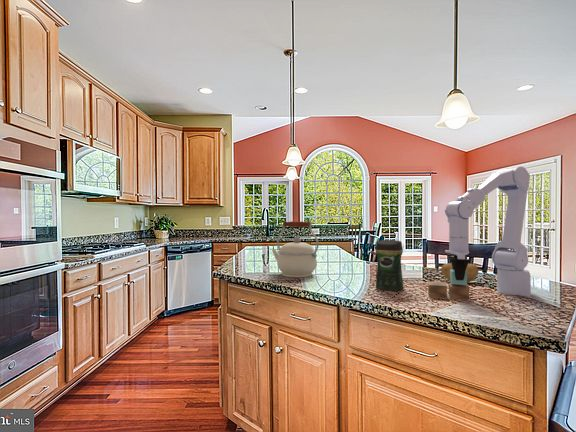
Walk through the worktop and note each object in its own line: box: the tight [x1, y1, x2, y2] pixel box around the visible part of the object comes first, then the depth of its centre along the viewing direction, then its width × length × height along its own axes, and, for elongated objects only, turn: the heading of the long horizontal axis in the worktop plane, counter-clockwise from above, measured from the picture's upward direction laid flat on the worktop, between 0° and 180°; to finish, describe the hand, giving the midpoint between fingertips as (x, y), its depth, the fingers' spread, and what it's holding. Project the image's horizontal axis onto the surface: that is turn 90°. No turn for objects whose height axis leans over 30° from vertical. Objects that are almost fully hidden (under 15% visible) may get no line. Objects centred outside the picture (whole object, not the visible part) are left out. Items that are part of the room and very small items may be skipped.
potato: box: [440, 262, 479, 283], centre depth 143 cm, size 10×14×8 cm
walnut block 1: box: [427, 281, 448, 299], centre depth 116 cm, size 6×6×4 cm
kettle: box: [271, 220, 320, 279], centre depth 161 cm, size 25×18×25 cm
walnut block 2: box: [448, 282, 470, 301], centre depth 114 cm, size 6×6×4 cm
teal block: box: [449, 269, 468, 285], centre depth 114 cm, size 4×4×4 cm
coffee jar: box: [375, 239, 404, 292], centre depth 128 cm, size 10×8×19 cm
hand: (458, 278), depth 114 cm, fingers closed on teal block, 4 cm apart
